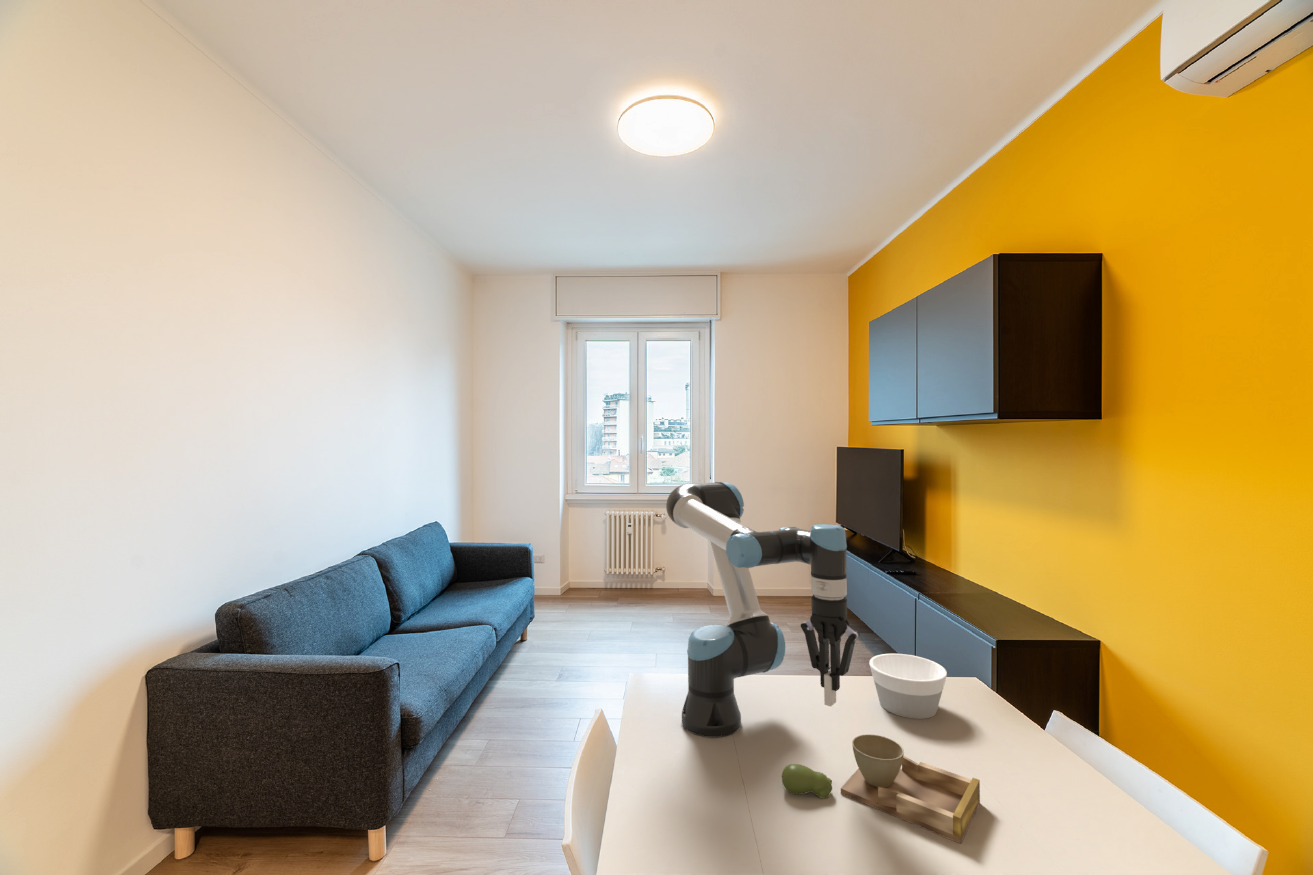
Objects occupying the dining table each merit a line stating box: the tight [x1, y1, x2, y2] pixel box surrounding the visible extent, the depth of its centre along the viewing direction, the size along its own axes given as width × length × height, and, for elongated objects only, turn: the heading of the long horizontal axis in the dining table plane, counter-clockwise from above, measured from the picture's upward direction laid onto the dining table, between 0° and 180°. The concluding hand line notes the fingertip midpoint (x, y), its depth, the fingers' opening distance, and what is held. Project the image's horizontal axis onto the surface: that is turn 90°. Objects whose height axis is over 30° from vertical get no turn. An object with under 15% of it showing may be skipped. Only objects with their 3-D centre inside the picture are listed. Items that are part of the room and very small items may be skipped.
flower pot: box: [851, 734, 905, 788], centre depth 116 cm, size 10×10×7 cm
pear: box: [781, 763, 833, 799], centre depth 114 cm, size 6×5×10 cm
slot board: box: [840, 755, 981, 845], centre depth 112 cm, size 22×15×4 cm
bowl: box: [868, 653, 948, 720], centre depth 152 cm, size 19×19×11 cm
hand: (830, 703), depth 123 cm, fingers closed
